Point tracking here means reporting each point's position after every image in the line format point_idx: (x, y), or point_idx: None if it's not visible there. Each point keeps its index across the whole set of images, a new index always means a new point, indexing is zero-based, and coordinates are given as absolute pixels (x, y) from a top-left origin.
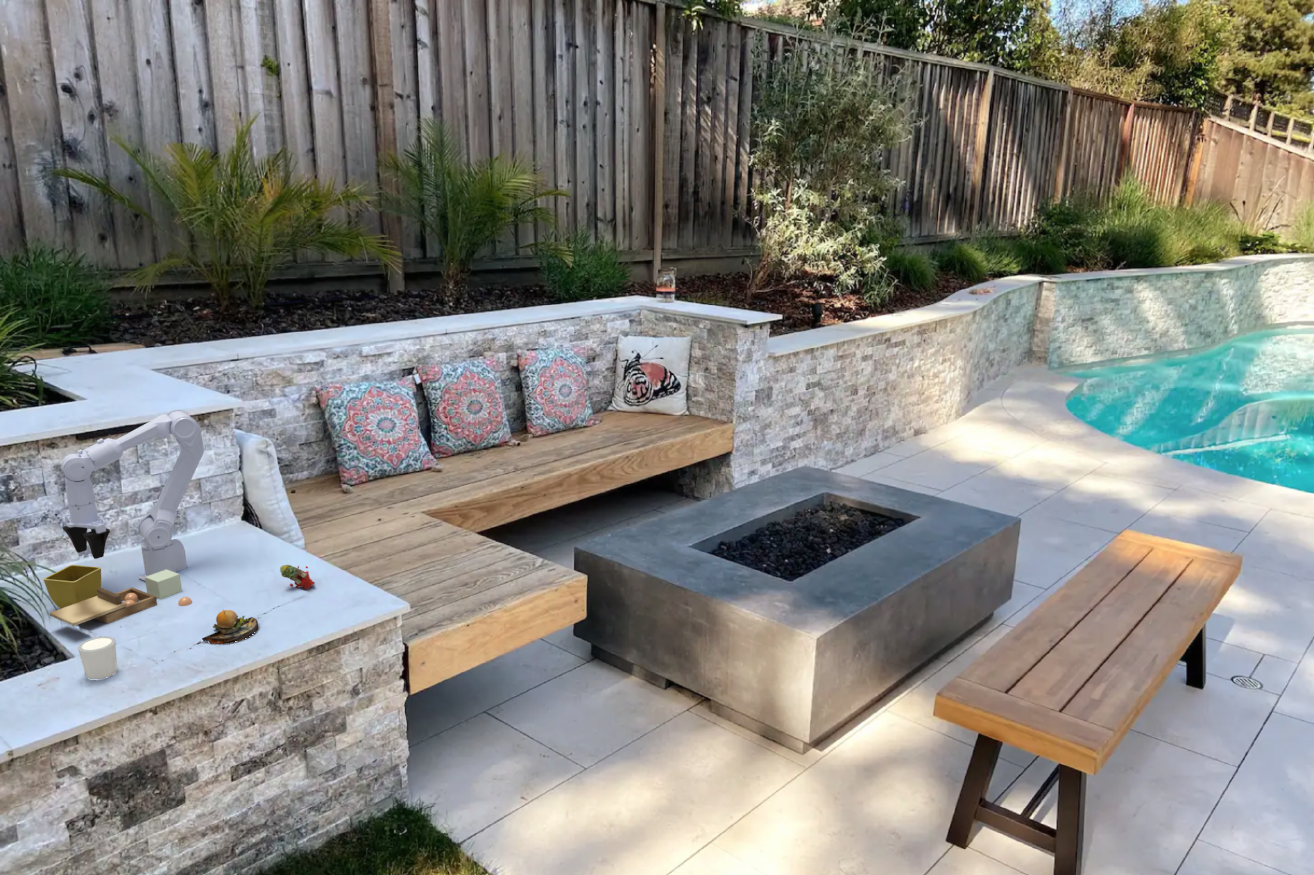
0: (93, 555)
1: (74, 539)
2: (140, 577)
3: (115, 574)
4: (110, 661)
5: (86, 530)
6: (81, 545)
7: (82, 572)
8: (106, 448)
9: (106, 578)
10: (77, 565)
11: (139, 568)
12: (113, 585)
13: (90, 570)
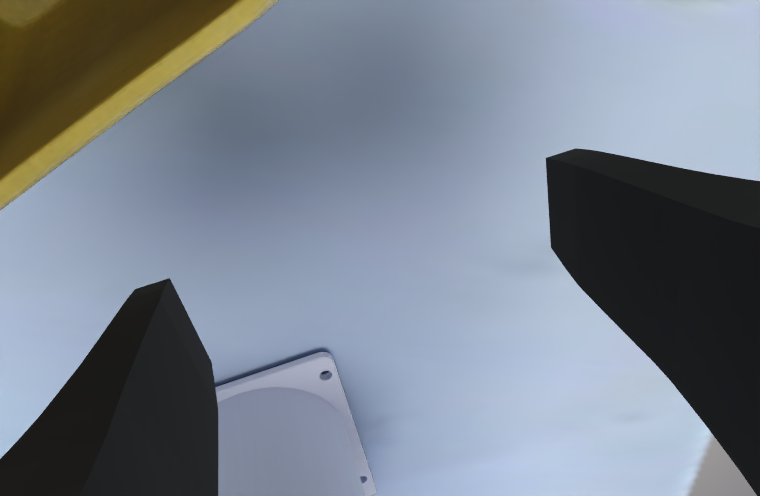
0: (125, 310)
1: (694, 234)
2: (309, 365)
3: (504, 258)
4: None
5: (742, 468)
6: (600, 246)
7: (124, 62)
8: None
9: (485, 206)
10: (194, 48)
11: (485, 366)
12: (331, 219)
13: (15, 153)
